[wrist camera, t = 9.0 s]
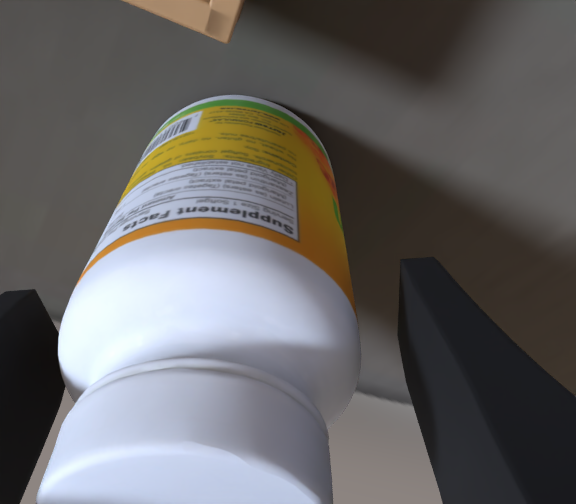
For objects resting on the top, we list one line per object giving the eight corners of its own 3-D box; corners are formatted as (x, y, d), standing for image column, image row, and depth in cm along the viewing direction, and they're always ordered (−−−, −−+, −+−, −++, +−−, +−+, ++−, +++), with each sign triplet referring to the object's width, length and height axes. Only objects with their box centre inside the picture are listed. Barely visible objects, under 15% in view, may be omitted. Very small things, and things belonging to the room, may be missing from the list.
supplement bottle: (314, 264, 16) (341, 617, 9) (147, 245, 16) (13, 600, 8) (351, 104, 13) (448, 436, 5) (143, 74, 13) (-83, 389, 5)
